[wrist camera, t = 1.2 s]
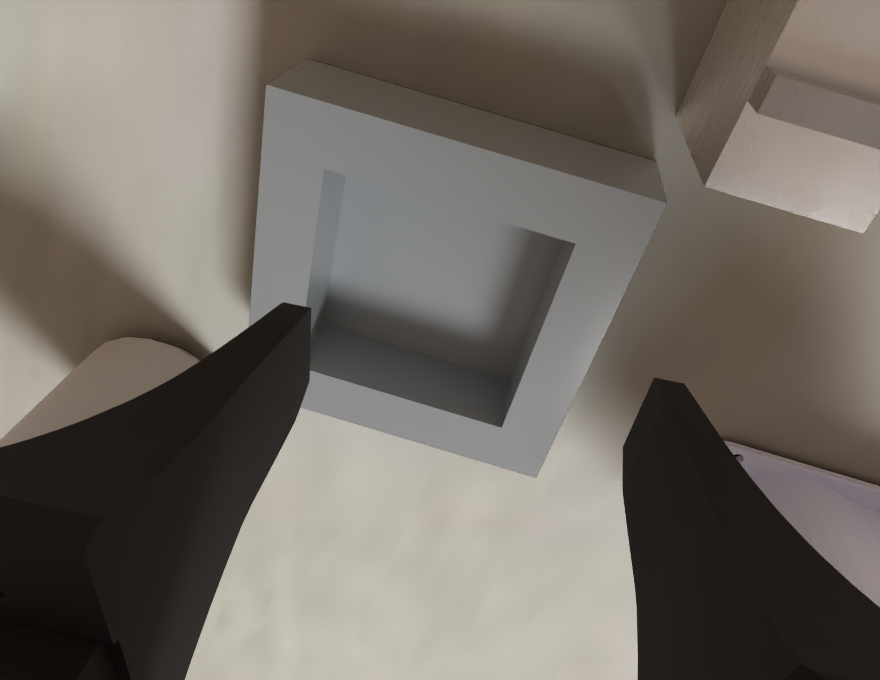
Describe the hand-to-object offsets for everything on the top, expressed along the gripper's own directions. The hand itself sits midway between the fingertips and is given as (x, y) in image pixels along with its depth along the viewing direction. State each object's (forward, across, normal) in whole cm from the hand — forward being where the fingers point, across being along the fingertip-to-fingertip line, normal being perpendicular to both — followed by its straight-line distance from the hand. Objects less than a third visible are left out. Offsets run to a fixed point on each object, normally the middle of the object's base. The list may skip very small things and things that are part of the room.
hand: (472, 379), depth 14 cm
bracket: (+11, -7, -5) cm, 14 cm away
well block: (+11, +2, +4) cm, 12 cm away
